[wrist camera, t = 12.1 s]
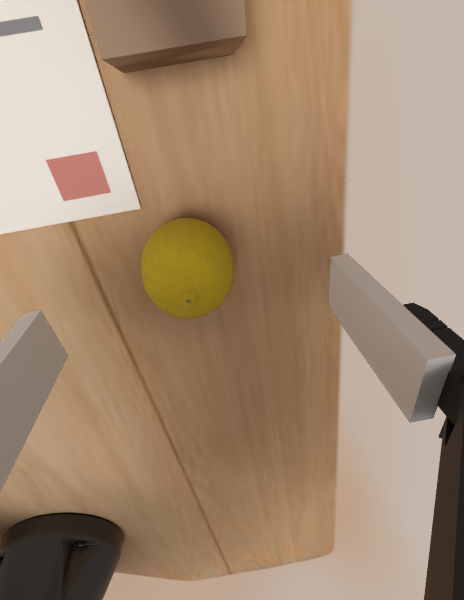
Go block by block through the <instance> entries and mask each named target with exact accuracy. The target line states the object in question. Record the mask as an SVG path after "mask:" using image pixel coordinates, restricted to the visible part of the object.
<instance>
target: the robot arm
mask: <svg viewBox="0 0 464 600" xmlns="http://www.w3.org/2000/svg"><path fill="white" fill-rule="evenodd" d="M329 308H330V309H331V310H332V312H333V313H334V315H335V316H336V318H337V319H338V320H339V322H340V323H341V325H342V326H343V328H344V329H345V330H346V332H347V333H348V335H349V336H350V338H351V339H352V340H353V342H354V343H355V345H356V346H357V348H358V349H359V351H360V352H361V353H362V355H363V356H364V358H365V359H366V361H367V362H368V364H369V365H370V366H371V368H372V369H373V371H374V372H375V373H376V375H377V376H378V378H379V379H380V381H381V382H382V384H383V385H384V386H385V388H386V389H387V391H388V392H389V394H390V395H391V397H392V398H393V399H394V401H395V402H396V404H397V405H398V407H399V408H400V409H401V411H402V412H403V414H404V415H405V417H406V418H407V419H408V421H409V422H410V423H411V422H416V421H421V420H426V419H431V418H434V415H435V412H436V409H437V407H438V406H439V407H440V409H441V410H442V411H443V412H444V414H445V415H446V416H447V417H446V419H445V422H444V425H443V427H442V429H441V432H440V434H439V438H442V447H441V455H440V464H439V473H438V482H437V490H436V499H435V508H434V516H433V517H434V518H433V525H432V535H431V543H430V552H429V560H428V570H427V578H426V587H425V596H424V600H464V340H463V339H462V338H461V337H459V336H458V335H457V334H456V333H455V332H453V331H452V330H451V329H450V328H447V326H446V325H445V324H444V323H443V322H442V321H441V320H440V321H439V320H438V318H437V317H436V316H435V315H433V314H432V313H431V312H430V311H429V310H428V309H425V308H423V307H421V306H419V305H417V304H415V303H409V304H404V305H402V304H401V303H400V302H399V301H398V300H397V299H396V298H395V297H394V296H393V295H391V294H390V293H389V292H388V291H387V290H386V289H385V288H384V287H383V286H382V285H381V284H380V283H378V282H377V281H376V280H375V279H374V278H373V277H372V276H371V275H370V274H369V273H368V272H367V271H366V270H364V269H363V268H362V267H361V266H360V265H359V264H358V263H357V262H356V261H355V260H353V258H351V257H350V256H349V255H348V254H343V255H338V256H332V257H331V266H330V292H329ZM67 357H68V354H67V353H66V351H65V349H64V348H63V346H62V344H61V343H60V341H59V339H58V338H57V336H56V334H55V333H54V331H53V329H52V328H51V326H50V325H49V323H48V321H47V320H46V318H45V316H44V315H43V313H42V311H41V310H39V311H34V312H29V313H24V314H23V315H22V316H21V317H20V318H19V320H18V321H17V322H16V323H15V325H14V326H13V327H12V328H11V329H10V331H9V332H8V333H7V334H6V336H5V337H4V338H3V339H2V340H1V342H0V492H1V490H2V488H3V486H4V484H5V482H6V480H7V478H8V476H9V474H10V472H11V470H12V468H13V466H14V464H15V461H16V459H17V457H18V455H19V453H20V451H21V449H22V447H23V445H24V443H25V441H26V439H27V437H28V435H29V433H30V431H31V429H32V427H33V425H34V423H35V421H36V419H37V417H38V415H39V413H40V411H41V409H42V407H43V405H44V403H45V401H46V399H47V397H48V395H49V393H50V391H51V389H52V387H53V385H54V383H55V381H56V379H57V377H58V375H59V373H60V371H61V369H62V367H63V365H64V363H65V361H66V359H67ZM122 541H123V535H122V533H121V531H120V530H119V529H118V528H117V527H116V526H115V525H113V524H112V523H110V522H108V521H105V520H102V519H99V518H95V517H91V516H85V515H74V514H60V515H48V516H42V517H37V518H33V519H30V520H27V521H24V522H21V523H19V524H17V525H15V526H14V527H12V528H11V529H10V530H9V531H8V532H7V533H6V534H5V536H4V538H3V540H2V542H1V545H0V600H102V599H103V597H104V595H105V593H106V590H107V588H108V585H109V583H110V580H111V578H112V575H113V573H114V571H115V568H116V566H117V564H118V561H119V558H120V554H121V547H122Z"/></svg>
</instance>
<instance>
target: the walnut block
mask: <svg viewBox="0 0 464 600" xmlns="http://www.w3.org/2000/svg"><path fill="white" fill-rule="evenodd" d="M85 3H86V6H87V10H88V13H89V17H90V20H91V23H92V27H93V30H94V33H95V37H96V40H97V43H98V47H99V50H100V53H101V57H102V60H104V61H106V62H107V63H109V64H110V65H112V66H113V67H115V68H117V69H118V70H120V71H121V72H123V73H127V72H133V71H138V70H144V69H150V68H156V67H162V66H168V65H174V64H180V63H186V62H192V61H197V60H203V59H209V58H215V57H221V56H227V55H232V54H233V53H234V52H235V50H236V49H237V48H238V47H239V45H240V44H241V43H242V41H243V40H244V39H245V37H246V36H247V26H246V15H245V4H244V0H85Z"/></svg>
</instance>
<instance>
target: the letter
mask: <svg viewBox="0 0 464 600" xmlns="http://www.w3.org/2000/svg"><path fill="white" fill-rule="evenodd" d="M136 209H141V206H140V203H139V199H138V196H137V193H136V190H135V186H134V183H133V180H132V177H131V173H130V170H129V167H128V164H127V160H126V157H125V154H124V151H123V147H122V144H121V141H120V138H119V134H118V131H117V128H116V124H115V121H114V118H113V115H112V111H111V108H110V105H109V102H108V98H107V95H106V92H105V89H104V85H103V82H102V79H101V76H100V72H99V69H98V66H97V63H96V59H95V56H94V53H93V50H92V46H91V43H90V40H89V37H88V33H87V30H86V27H85V24H84V20H83V17H82V14H81V11H80V7H79V4H78V1H77V0H0V234H4V233H10V232H15V231H21V230H26V229H32V228H37V227H43V226H48V225H54V224H59V223H65V222H70V221H76V220H81V219H87V218H92V217H98V216H103V215H109V214H114V213H120V212H125V211H131V210H136Z"/></svg>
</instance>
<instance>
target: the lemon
mask: <svg viewBox="0 0 464 600" xmlns="http://www.w3.org/2000/svg"><path fill="white" fill-rule="evenodd" d="M233 273H234V264H233V257H232V252H231V250H230V248H229V246H228V243H227V241H226V240H225V238H224V237H223V236H222V235H221V233H220V232H219V231H218V230H217V229H215V228H214V227H213V226H211V225H210V224H209V223H206V222H204V221H201V220H199V219H193V218H180V219H175V220H172V221H169V222H167V223H165V224H163V225H162V226H161V227H159V228H158V229H156V230H155V232H154V233H153V234H152V235H151V237H150V238H149V239H148V241H147V243H146V245H145V248H144V250H143V253H142V258H141V276H142V281H143V285H144V288H145V290H146V292H147V294H148V296H149V298H150V299H151V300H152V301H153V303H154V304H155V305H156V306H157V307H158V308H160V309H161V310H162V311H164V312H165V313H167V314H170V315H172V316H175V317H179V318H197V317H201V316H204V315H206V314H208V313H210V312H212V311H213V310H215V309H216V308H217V307H218V306H220V304H221V303H222V302H223V301H224V299H225V298H226V296H227V295H228V292H229V290H230V287H231V285H232V281H233Z"/></svg>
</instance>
